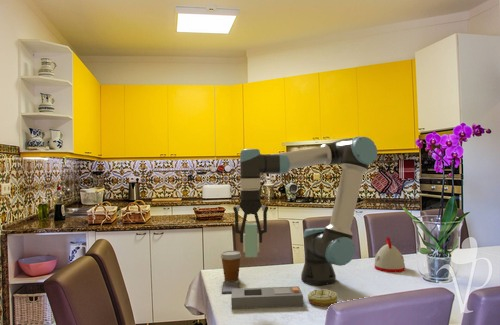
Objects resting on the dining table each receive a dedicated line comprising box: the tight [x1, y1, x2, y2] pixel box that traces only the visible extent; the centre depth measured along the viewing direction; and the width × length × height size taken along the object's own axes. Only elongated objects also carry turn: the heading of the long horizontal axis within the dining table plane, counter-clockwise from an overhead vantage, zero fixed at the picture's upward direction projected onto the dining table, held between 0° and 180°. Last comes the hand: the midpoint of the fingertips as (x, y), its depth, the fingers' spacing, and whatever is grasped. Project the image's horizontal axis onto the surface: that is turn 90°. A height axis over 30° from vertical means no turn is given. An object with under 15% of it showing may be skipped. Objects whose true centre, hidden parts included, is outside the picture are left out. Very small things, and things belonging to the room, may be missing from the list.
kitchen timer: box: [374, 236, 406, 274], centre depth 175 cm, size 14×14×15 cm
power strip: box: [230, 285, 304, 310], centre depth 135 cm, size 26×10×5 cm, turn 91°
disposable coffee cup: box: [220, 250, 242, 282], centre depth 165 cm, size 10×10×12 cm
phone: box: [221, 281, 240, 295], centre depth 152 cm, size 7×13×1 cm, turn 1°
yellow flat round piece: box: [307, 288, 338, 307], centre depth 134 cm, size 10×11×4 cm
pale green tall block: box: [244, 222, 258, 258], centre depth 136 cm, size 4×4×12 cm
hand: (251, 251), depth 136 cm, fingers closed on pale green tall block, 4 cm apart
